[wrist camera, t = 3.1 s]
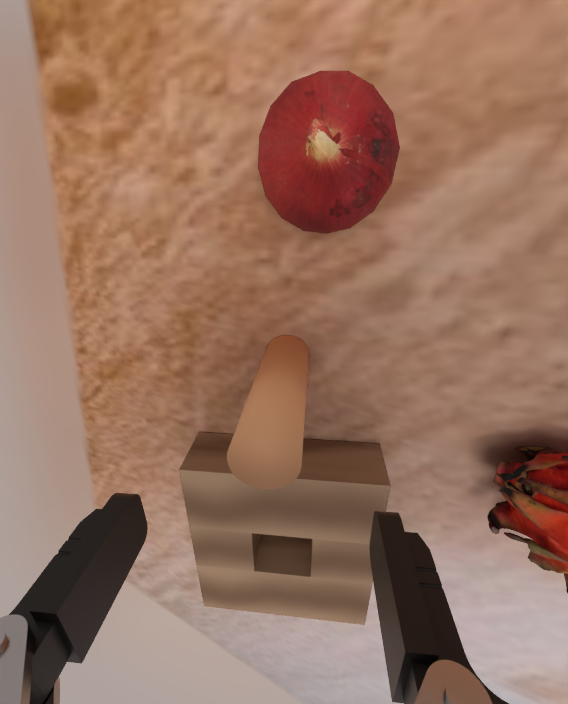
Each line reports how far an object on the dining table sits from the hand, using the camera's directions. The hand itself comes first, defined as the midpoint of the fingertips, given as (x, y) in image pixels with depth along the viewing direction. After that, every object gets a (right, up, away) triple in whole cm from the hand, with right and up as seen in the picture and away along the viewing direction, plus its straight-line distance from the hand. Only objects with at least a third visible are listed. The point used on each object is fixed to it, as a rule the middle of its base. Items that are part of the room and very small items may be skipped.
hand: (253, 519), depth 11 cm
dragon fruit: (+20, -3, +13) cm, 24 cm away
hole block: (+1, -8, +17) cm, 19 cm away
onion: (+3, +15, +6) cm, 17 cm away
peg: (+1, +5, +11) cm, 12 cm away
